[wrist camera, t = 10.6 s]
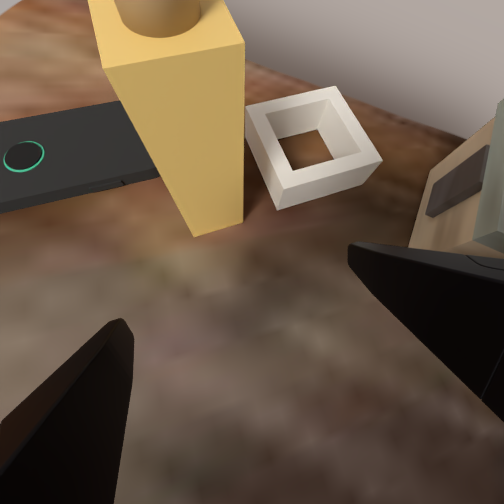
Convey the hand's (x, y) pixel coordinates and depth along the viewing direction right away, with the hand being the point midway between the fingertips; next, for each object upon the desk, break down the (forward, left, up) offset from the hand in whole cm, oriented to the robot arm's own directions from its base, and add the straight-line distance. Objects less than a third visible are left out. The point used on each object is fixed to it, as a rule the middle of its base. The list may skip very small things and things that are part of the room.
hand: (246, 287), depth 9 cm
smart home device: (+20, +4, -8) cm, 22 cm away
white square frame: (+5, -13, -8) cm, 16 cm away
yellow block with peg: (+7, -4, -8) cm, 11 cm away
